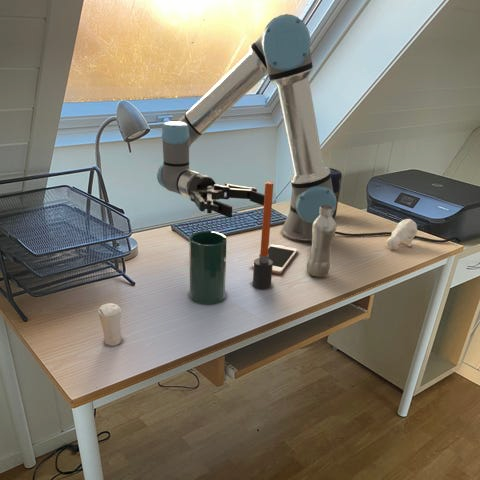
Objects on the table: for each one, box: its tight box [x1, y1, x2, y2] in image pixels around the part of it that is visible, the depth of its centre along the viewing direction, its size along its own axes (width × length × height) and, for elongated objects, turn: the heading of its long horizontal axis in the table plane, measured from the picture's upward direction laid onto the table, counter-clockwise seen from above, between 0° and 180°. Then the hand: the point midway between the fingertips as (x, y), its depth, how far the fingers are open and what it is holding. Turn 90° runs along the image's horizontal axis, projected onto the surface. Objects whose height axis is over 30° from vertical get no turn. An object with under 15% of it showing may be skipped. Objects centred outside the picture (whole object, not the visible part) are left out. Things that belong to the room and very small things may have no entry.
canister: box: [328, 167, 343, 218], centre depth 175 cm, size 10×10×18 cm
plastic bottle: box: [306, 205, 337, 278], centre depth 132 cm, size 6×7×20 cm
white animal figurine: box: [386, 218, 418, 250], centre depth 156 cm, size 6×8×12 cm
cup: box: [188, 230, 227, 305], centre depth 120 cm, size 9×9×16 cm
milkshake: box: [97, 302, 122, 347], centre depth 102 cm, size 5×5×10 cm
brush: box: [252, 181, 275, 290], centre depth 123 cm, size 5×5×28 cm
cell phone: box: [251, 243, 298, 275], centre depth 144 cm, size 9×18×1 cm, turn 158°
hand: (250, 206), depth 123 cm, fingers open, 13 cm apart
